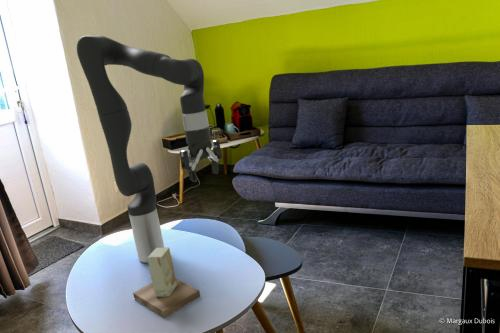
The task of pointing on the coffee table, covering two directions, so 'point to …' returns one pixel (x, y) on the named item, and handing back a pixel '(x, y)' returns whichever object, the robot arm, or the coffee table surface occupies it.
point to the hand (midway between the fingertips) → (205, 177)
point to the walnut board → (167, 298)
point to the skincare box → (162, 272)
